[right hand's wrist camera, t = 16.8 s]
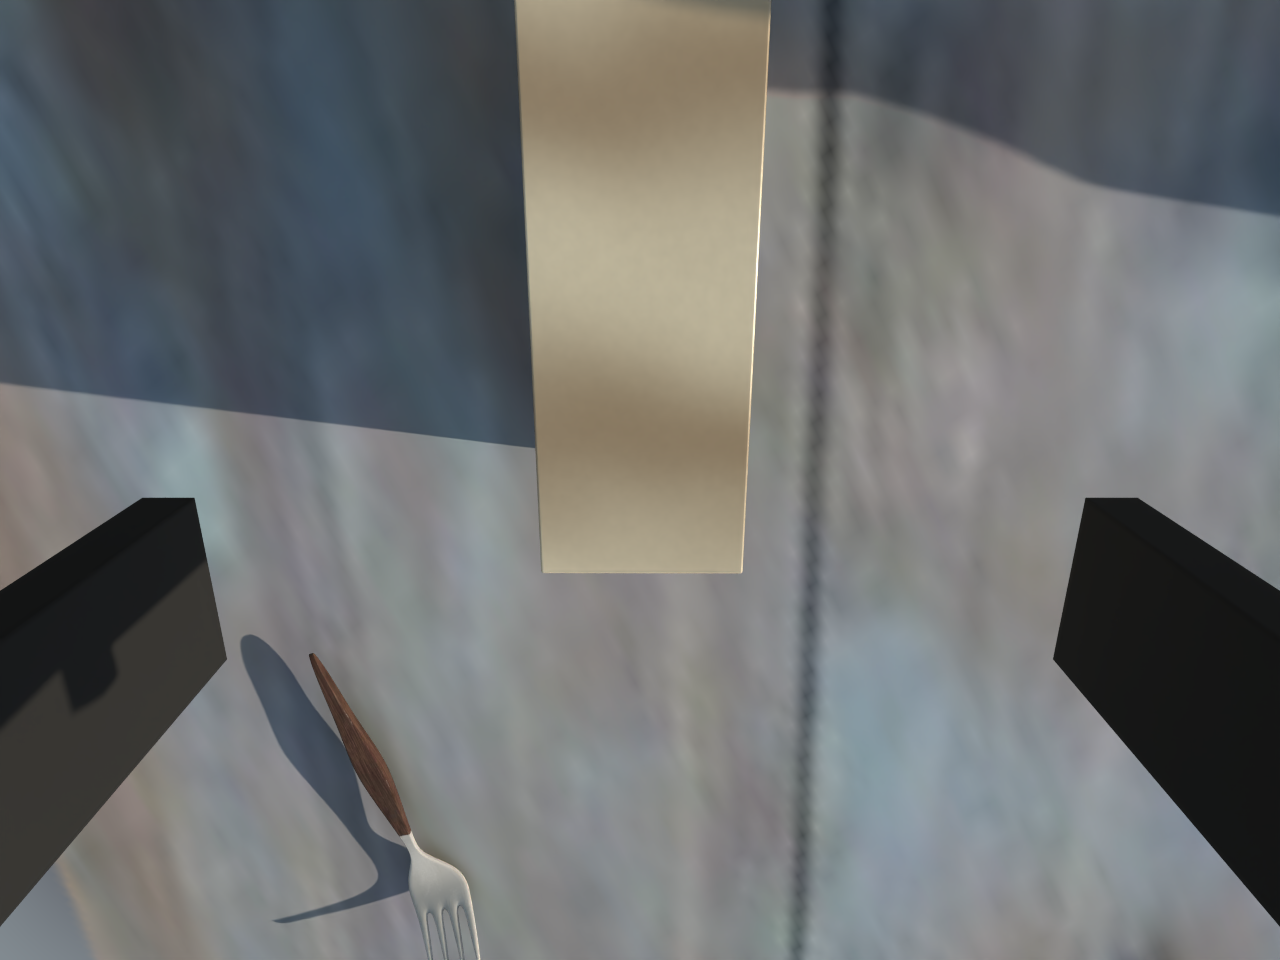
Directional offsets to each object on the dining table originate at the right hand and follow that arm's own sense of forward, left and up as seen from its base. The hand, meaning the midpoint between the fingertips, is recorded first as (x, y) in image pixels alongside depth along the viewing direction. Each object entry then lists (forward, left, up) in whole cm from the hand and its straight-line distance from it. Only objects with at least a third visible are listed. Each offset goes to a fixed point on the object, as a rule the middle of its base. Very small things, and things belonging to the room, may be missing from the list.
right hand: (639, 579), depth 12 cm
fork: (-18, -11, -16) cm, 27 cm away
